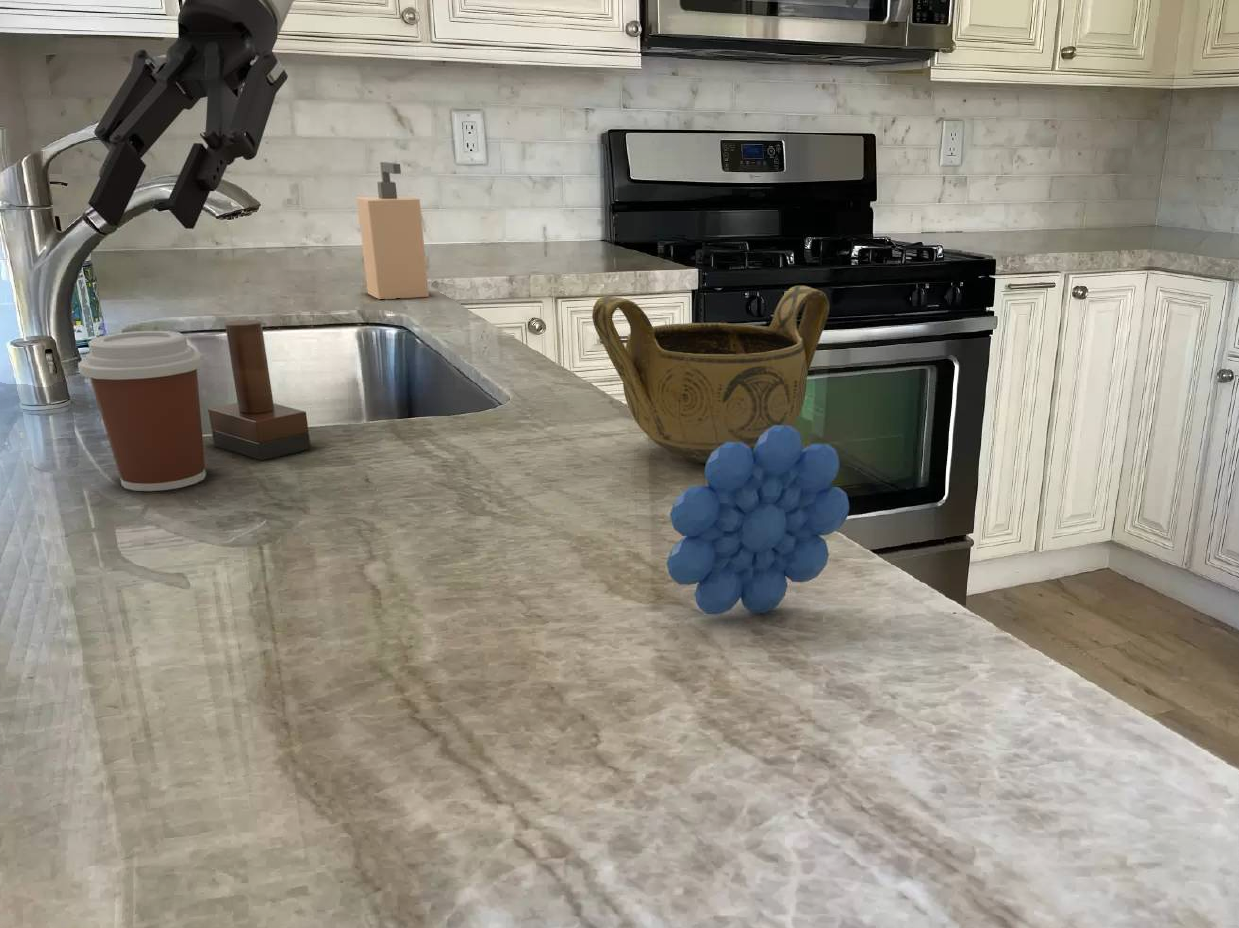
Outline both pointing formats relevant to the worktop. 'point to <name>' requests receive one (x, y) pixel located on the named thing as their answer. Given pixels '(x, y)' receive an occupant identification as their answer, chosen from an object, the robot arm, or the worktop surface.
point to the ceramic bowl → (714, 372)
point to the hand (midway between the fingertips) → (141, 215)
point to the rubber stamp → (255, 403)
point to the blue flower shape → (757, 521)
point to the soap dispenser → (392, 241)
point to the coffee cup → (149, 406)
